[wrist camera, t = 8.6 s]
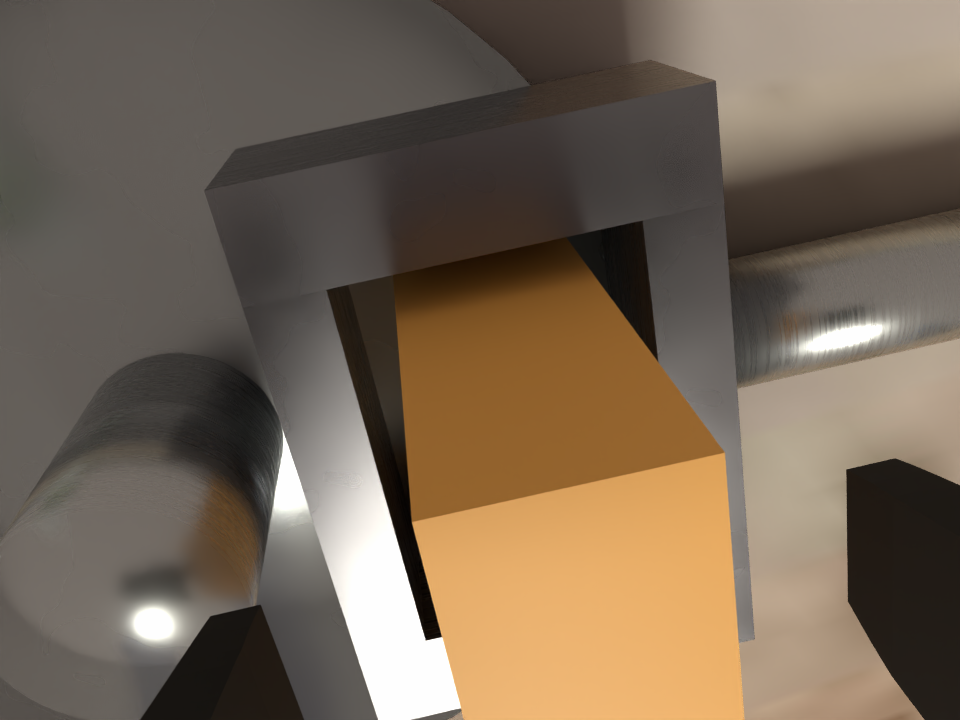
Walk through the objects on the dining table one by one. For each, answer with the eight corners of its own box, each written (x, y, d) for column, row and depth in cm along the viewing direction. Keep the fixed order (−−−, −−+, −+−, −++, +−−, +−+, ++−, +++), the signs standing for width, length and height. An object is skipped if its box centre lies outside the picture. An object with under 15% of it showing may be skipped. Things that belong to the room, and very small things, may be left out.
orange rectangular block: (593, 462, 18) (751, 810, 10) (447, 494, 17) (502, 868, 10) (557, 225, 15) (724, 452, 8) (392, 260, 15) (412, 522, 8)
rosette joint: (1011, 574, 21) (1228, 779, 16) (-55, 823, 21) (-206, 1127, 15) (1093, -310, 14) (1560, -490, 8) (-584, 34, 13) (-1258, 80, 8)
